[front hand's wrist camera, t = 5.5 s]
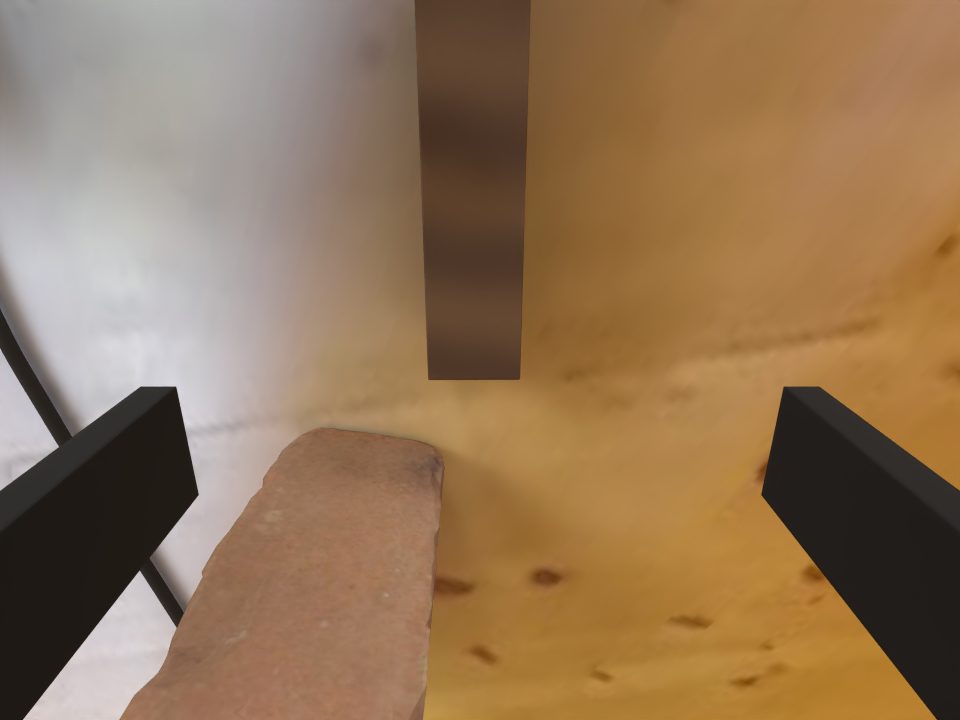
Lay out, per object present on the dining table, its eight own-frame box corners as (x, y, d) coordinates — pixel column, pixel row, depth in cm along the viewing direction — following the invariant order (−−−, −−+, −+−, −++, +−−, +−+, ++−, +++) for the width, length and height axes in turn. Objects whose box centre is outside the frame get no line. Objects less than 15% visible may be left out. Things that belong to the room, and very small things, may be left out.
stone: (409, 664, 49) (333, 1265, 22) (275, 646, 48) (32, 1247, 22) (451, 440, 42) (413, 925, 15) (295, 415, 41) (-28, 881, 15)
